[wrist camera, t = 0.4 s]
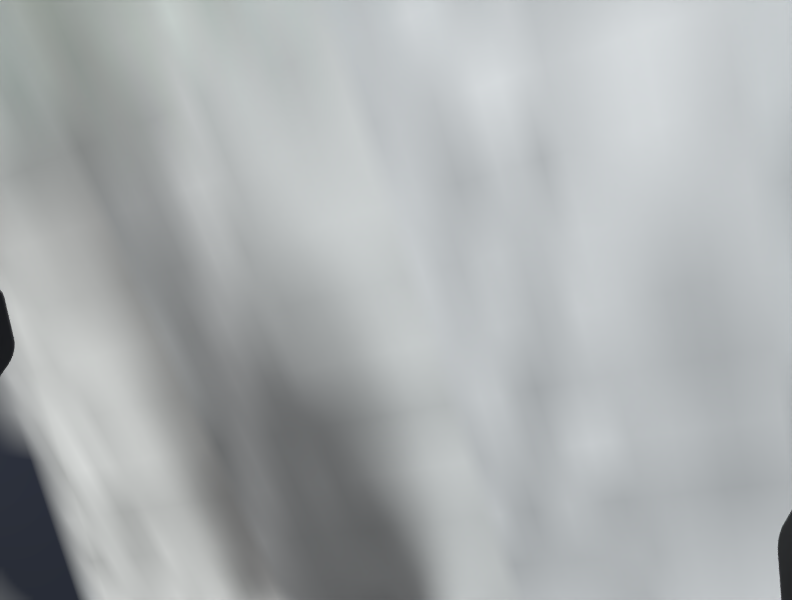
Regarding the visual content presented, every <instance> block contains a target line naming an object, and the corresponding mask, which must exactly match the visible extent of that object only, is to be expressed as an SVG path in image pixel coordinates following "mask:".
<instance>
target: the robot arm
mask: <svg viewBox="0 0 792 600" xmlns="http://www.w3.org/2000/svg"><path fill="white" fill-rule="evenodd" d="M14 346H15V342H14V337H13V332H12V328H11V324H10V320H9V315H8V311H7V307H6V303H5V298H4V295H3V293H2V292H1V290H0V376H1V374H2V373H3V371H4V370H5V368H6V367H7V366H8V364H9V362H10V361H11V358H12V356H13V352H14ZM778 560H779V574H780V587H781V600H792V511H791V512H790V514H789V516H788V518H787V519H786V521H785V523H784V524H783V526H782V529H781V532H780V535H779V540H778Z"/></svg>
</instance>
